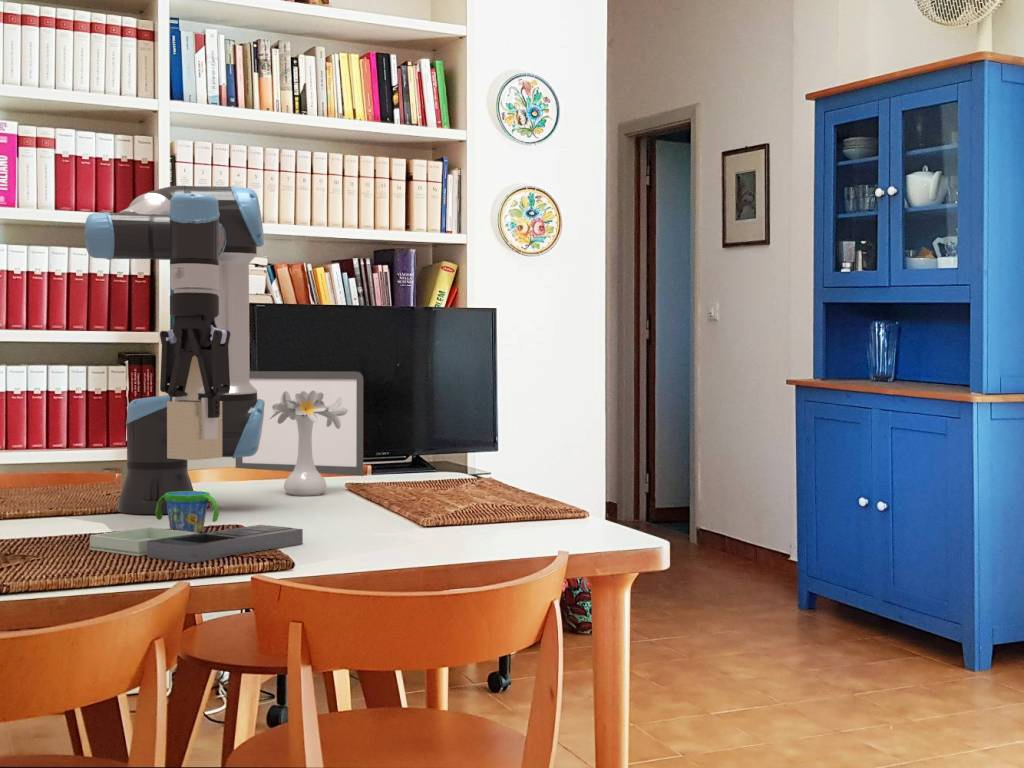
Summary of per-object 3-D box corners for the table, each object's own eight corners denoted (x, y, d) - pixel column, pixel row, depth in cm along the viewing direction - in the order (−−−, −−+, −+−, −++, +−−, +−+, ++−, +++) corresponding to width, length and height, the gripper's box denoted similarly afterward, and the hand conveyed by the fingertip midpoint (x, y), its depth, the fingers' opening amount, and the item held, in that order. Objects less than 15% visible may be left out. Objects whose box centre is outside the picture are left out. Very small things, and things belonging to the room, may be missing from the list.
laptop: (170, 490, 286) (170, 371, 286) (238, 480, 314) (238, 371, 314) (307, 496, 273) (307, 371, 273) (365, 485, 301) (365, 371, 301)
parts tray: (89, 549, 190) (89, 535, 190) (149, 540, 200) (149, 527, 200) (138, 556, 183) (138, 541, 183) (198, 546, 193) (198, 532, 193)
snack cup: (227, 533, 210) (227, 491, 210) (203, 538, 203) (203, 496, 203) (171, 530, 214) (171, 489, 213) (146, 536, 206) (146, 493, 206)
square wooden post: (167, 458, 186) (167, 400, 186) (196, 455, 191) (196, 399, 191) (193, 460, 183) (193, 401, 182) (222, 457, 188) (222, 400, 187)
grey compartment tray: (147, 557, 182) (147, 540, 182) (259, 539, 202) (260, 524, 202) (190, 563, 177) (190, 546, 177) (302, 544, 197) (302, 528, 197)
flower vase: (354, 498, 268) (354, 389, 268) (299, 506, 253) (299, 390, 252) (311, 495, 275) (312, 388, 275) (255, 502, 260) (255, 389, 259)
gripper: (135, 292, 188) (135, 437, 189) (219, 289, 178) (219, 441, 178) (172, 295, 194) (172, 434, 195) (254, 291, 184) (255, 439, 185)
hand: (194, 437), depth 187 cm, fingers closed on square wooden post, 6 cm apart
